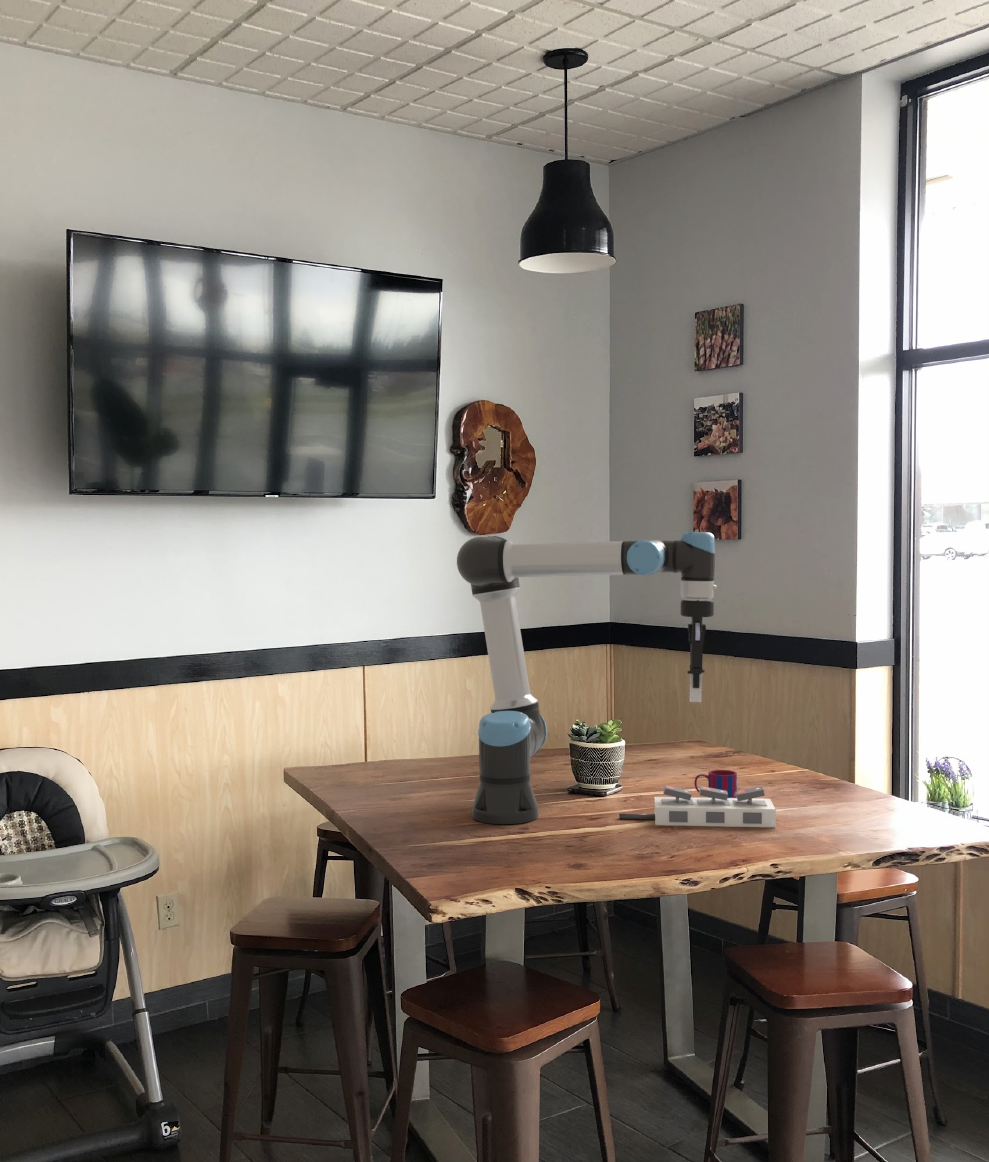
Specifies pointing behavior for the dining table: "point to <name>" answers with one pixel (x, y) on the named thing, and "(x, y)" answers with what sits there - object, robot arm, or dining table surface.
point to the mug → (721, 781)
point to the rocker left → (677, 792)
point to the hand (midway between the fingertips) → (695, 701)
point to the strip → (710, 812)
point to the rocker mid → (713, 793)
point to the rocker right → (749, 793)
